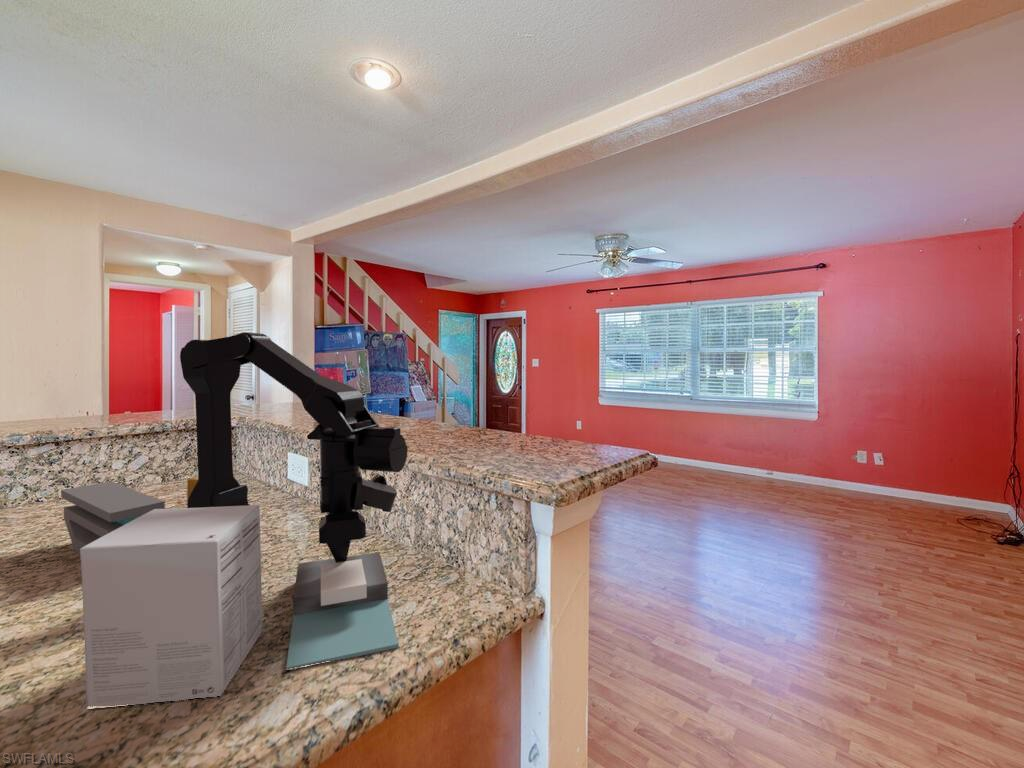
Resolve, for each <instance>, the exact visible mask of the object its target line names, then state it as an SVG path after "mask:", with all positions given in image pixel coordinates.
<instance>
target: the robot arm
mask: <svg viewBox="0 0 1024 768" xmlns="http://www.w3.org/2000/svg"><path fill="white" fill-rule="evenodd" d="M179 360H180V365H181V372H182V377H183V379H184V381H185V382H186V384H187V385H188V386H189V388H190V389H191V390H192V392H193V393H194V396H195V400H194V401H195V420H196V421H195V422H196V445H197V446H196V447H197V448H196V449H197V470H198V471H197V472H198V473H197V476H198V482H197V483H196V485H195V487H194V489H193V491H192V492H191V494H190V496H189V498H188V505H187V504H186V505H187V506H186V508H203V507H224V506H247V505H250V503H249V501H248V494H249V493H248V491H249V487H248V485H247V484H240V483H239V481H238V480H237V479H236V477H235V475H234V467H233V465H234V464H233V439H232V437H233V435H232V433H233V432H232V407H231V405H232V404H231V393H232V390H233V388H234V387H235V385H236V384H237V381H238V380H239V378H240V374H241V366H244V365H246V364H251V363H252V364H253V365H254V366H256V367H257V368H258V369H259V370H261V371H262V372H264V373H265V374H266V375H268V376H269V377H271V378H272V379H273V380H275V382H276V381H277V383H279V384H280V385H282V386H283V387H285V388H286V389H287V390H288V391H290V392H291V393H292V394H294V395H295V396H296V397H297V398H298V399H300V401H301V404H302V406H303V409H304V410H305V411H306V412H307V414H309V416H311V418H313V420H314V421H315V422H316V423H317V425H316V426H315V428H314V429H313V430H312V431H311V432H309V433H308V434H307V436H306V438H307V439H308V440H310V441H311V440H314V441H315V440H316V441H319V459H320V461H319V462H320V465H319V467H320V495H319V510H320V513H321V514H326V515H324V516H323V517H321V518H320V521H319V522H318V524H319V525H318V543H319V544H322V545H323V544H324V545H325V544H326V545H327V547H328V549H329V551H330V553H331V555H332V557H333V559H335V561H336V563H338V562H344V561H346V560H347V557H348V555H349V550H350V545H351V542H352V541H355V540H361V539H365V538H366V537H367V536H366V535H367V530H366V529H367V528H366V527H367V524H366V520H365V517H364V516H363V515H362V514H361V513H360V512H359V511H360V510H361V511H362V510H364V506H365V507H368V508H369V507H370V508H374V509H377V510H382V512H387V513H390V512H392V508H393V506H394V503H395V501H396V497H397V494H398V492H397V490H396V488H395V487H394V486H392V484H387V478H386V476H385V475H383V474H382V475H381V474H375V475H374V477H372V478H371V479H364V478H363V476H362V472H361V471H360V470H363V471H371V472H372V471H375V472H385V473H386V472H387V473H389V472H390V473H399V472H401V471H402V470H403V469H404V467H405V465H406V462H407V460H408V459H407V458H408V452H409V450H408V445H407V444H406V439H405V437H404V436H403V435H402V434H401V427H400V426H387V427H381V426H379V423H378V422H377V421H376V419H375V418H374V416H373V414H372V413H371V412H370V410H369V409H368V407H367V405H366V404H365V401H364V400H365V399H364V395H363V394H362V393H361V391H360V390H358V389H357V388H355V387H353V386H350V385H348V384H346V383H343V382H341V381H338V380H335V379H332V378H328V377H327V376H323V375H321V374H319V373H318V372H316V370H313V368H311V367H309V365H306V363H303V361H301V360H300V359H299V358H297V357H296V356H294V355H292V354H291V353H290V352H288V351H287V350H285V349H284V348H282V346H279V345H278V344H277V343H275V342H274V341H272V339H271V338H270V337H269V336H268V335H266V334H265V333H258V332H240V333H237V334H233V335H230V336H225V337H219V338H214V339H191V340H190V341H189V340H188V342H186V344H185V345H184V347H181V349H180V354H179Z"/></svg>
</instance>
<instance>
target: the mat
mask: <svg viewBox="0 0 1024 768" xmlns="http://www.w3.org/2000/svg"><path fill="white" fill-rule="evenodd" d="M389 602H390V601H389V598H388V599H384V600H379V601H373V602H367V603H361V604H356V605H350V606H344V607H339V608H333V609H327V610H321V611H316V612H310V613H304V614H299V615H293V616H292V624H291V632H290V637H289V646H288V651H287V652H288V653H287V658H286V665H285V668H286V669H290V668H295V667H301V666H305V665H311V664H316V663H322V662H326V661H333V660H338V661H342V660H341V659H343V660H346V659H345V658H348V659H351V657H352V658H357V657H360V656H361V657H362V656H366V655H369V654H375V653H379V652H380V653H381V652H384V651H389V650H390V651H391V650H393V649H394V650H395V649H398V648H400V646H399V645H400V644H399V639H398V635H397V632H396V628H395V623H394V618H393V615H392V611H391V607H390V603H389ZM333 662H334V661H333ZM286 669H285V670H286Z"/></svg>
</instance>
